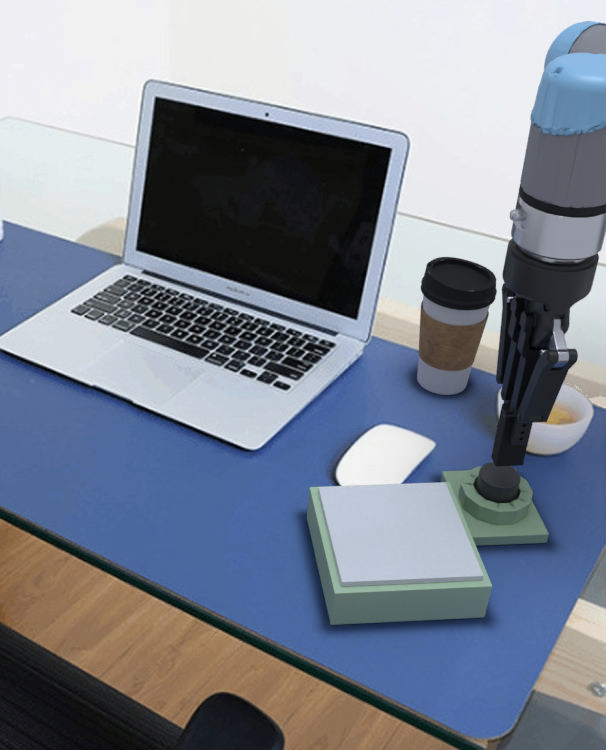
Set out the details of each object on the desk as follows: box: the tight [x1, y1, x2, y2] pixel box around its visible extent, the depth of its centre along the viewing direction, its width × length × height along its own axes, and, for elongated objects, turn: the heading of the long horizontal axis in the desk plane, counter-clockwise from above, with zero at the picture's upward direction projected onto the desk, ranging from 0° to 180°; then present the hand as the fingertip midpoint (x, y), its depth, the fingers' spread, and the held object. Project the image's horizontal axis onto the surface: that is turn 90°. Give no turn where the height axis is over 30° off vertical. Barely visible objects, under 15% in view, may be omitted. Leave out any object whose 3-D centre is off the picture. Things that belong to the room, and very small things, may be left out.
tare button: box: [476, 461, 521, 503], centre depth 100 cm, size 4×4×2 cm
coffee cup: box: [416, 256, 498, 396], centre depth 116 cm, size 8×8×15 cm
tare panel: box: [440, 465, 550, 547], centre depth 101 cm, size 8×10×3 cm
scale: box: [306, 481, 493, 626], centre depth 93 cm, size 14×14×5 cm
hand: (506, 460), depth 98 cm, fingers closed
